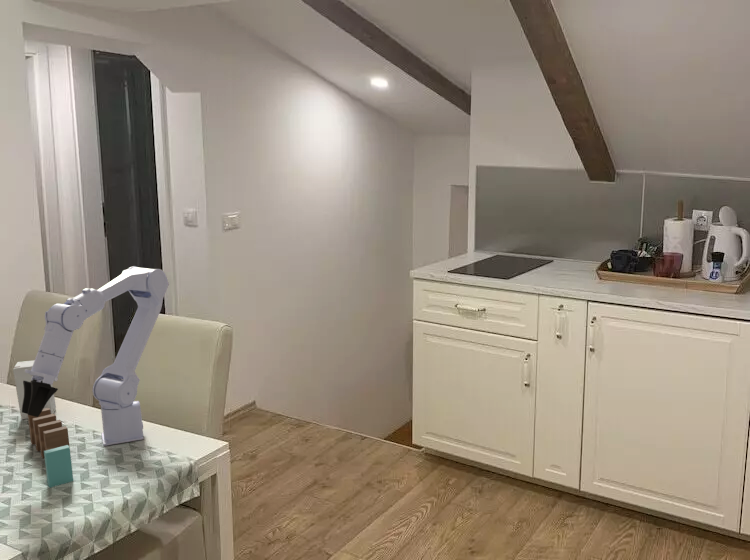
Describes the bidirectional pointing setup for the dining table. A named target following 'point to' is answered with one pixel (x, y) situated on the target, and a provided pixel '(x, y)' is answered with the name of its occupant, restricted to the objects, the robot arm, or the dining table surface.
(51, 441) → the walnut domino
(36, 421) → the walnut domino
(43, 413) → the walnut domino
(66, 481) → the teal domino
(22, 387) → the skincare box
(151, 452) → the dining table surface
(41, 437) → the walnut domino
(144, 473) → the dining table surface
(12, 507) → the dining table surface
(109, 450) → the dining table surface
